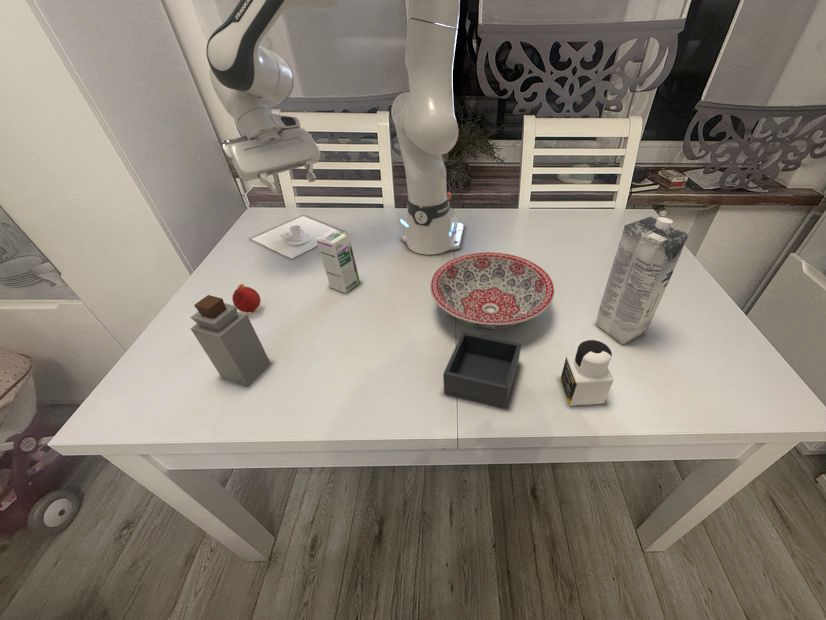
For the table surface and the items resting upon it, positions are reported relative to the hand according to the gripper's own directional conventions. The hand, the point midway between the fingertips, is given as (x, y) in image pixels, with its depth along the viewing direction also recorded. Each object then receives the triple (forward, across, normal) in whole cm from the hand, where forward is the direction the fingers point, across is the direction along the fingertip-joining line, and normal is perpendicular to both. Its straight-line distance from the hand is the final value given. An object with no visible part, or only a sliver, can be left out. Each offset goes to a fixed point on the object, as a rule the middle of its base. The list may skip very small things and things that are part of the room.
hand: (295, 185), depth 94 cm
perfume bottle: (+34, -32, 0) cm, 46 cm away
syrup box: (+25, 0, +8) cm, 26 cm away
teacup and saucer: (+1, +6, +32) cm, 32 cm away
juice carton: (+69, +35, -37) cm, 85 cm away
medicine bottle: (+72, +12, -39) cm, 82 cm away
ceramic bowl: (+50, +19, -18) cm, 56 cm away
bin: (+60, +1, -27) cm, 66 cm away
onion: (+20, -22, +12) cm, 33 cm away
